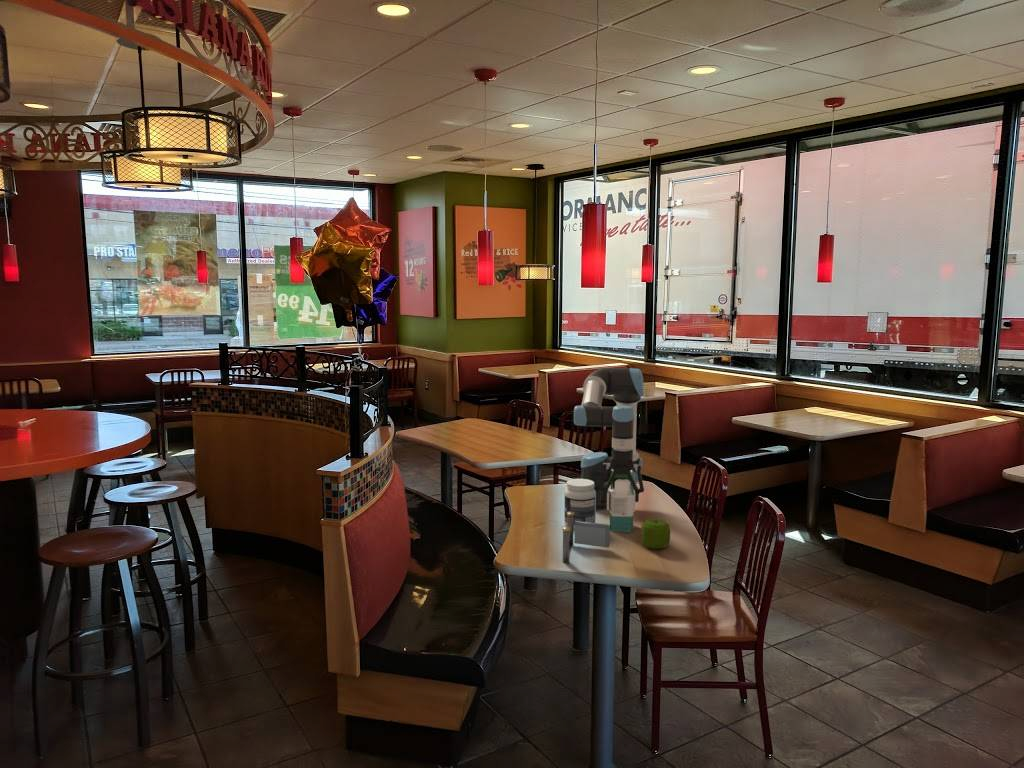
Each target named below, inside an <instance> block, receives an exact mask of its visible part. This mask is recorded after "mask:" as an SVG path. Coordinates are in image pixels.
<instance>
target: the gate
mask: <svg viewBox="0 0 1024 768" xmlns="http://www.w3.org/2000/svg"><path fill="white" fill-rule="evenodd" d="M574 524H575V529H574V530H573V544H575V545H583V546H584V545H585V546H593V547H594V546H595V547H602V548H607V549H608V548H610V544H611V543H610V539H611V538H610V536H611V533H610V524H608V523H607V524H605V523H598V522H597V523H590V522H581V521H575V523H574Z"/></svg>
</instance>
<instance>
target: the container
mask: <svg viewBox="0 0 1024 768" xmlns="http://www.w3.org/2000/svg"><path fill="white" fill-rule="evenodd" d="M608 491H610V497H609V510H608V512H609V514H610V513H611V515H612V516H633V517H634V515H633V507H634V496H633V494H632V493H631V482H630V480H629V479H628V478H626V477H616V478H614V479H613V488H612V489H611V488H610V489H608Z"/></svg>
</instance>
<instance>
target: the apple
mask: <svg viewBox="0 0 1024 768" xmlns="http://www.w3.org/2000/svg"><path fill="white" fill-rule="evenodd" d="M640 532H641V533H640V535H641V544H642V545H643V546H645V547H646V548H647V549H650V550H661V549H663V548H666V547H668V546H669V545H670V543H671V542H670V541H671V533H672V531H671V526H670V523H668V522H667V521H666V520H664V519H659V518H651V519H646V520H644V521H643V523H641V531H640Z"/></svg>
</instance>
